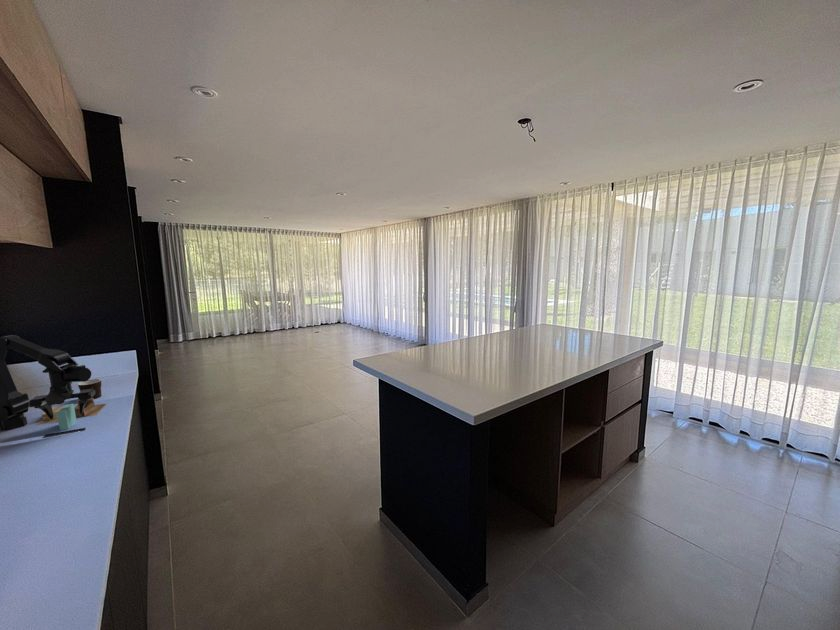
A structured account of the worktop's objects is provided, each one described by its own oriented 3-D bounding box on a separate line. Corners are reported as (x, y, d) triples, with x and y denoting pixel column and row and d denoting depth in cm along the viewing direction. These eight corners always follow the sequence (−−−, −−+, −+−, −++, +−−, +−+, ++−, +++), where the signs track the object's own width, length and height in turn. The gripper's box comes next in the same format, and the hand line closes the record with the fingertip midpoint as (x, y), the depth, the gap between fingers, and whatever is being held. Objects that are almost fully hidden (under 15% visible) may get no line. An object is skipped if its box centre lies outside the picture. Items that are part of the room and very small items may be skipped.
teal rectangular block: (60, 432, 139) (56, 412, 137) (69, 424, 146) (65, 404, 144) (68, 430, 140) (65, 411, 138) (77, 422, 147) (73, 403, 145)
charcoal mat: (43, 438, 135) (42, 436, 135) (56, 426, 145) (55, 425, 145) (83, 430, 141) (82, 429, 141) (92, 419, 150) (92, 418, 150)
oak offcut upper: (42, 417, 146) (41, 414, 146) (49, 411, 152) (49, 408, 152) (57, 415, 149) (57, 411, 148) (64, 408, 155) (64, 405, 154)
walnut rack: (35, 428, 143) (32, 416, 142) (50, 414, 155) (48, 403, 154) (97, 418, 152) (95, 406, 151) (107, 406, 164) (105, 395, 163)
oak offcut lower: (43, 420, 146) (42, 417, 146) (51, 414, 152) (50, 411, 152) (59, 418, 149) (58, 415, 148) (66, 412, 155) (65, 408, 154)
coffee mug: (85, 398, 173) (82, 380, 171) (107, 395, 177) (104, 377, 175) (74, 407, 163) (70, 388, 161) (97, 404, 166) (94, 385, 165)
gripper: (17, 392, 128) (25, 430, 131) (82, 384, 137) (89, 419, 139) (32, 383, 138) (39, 418, 140) (93, 375, 146) (98, 408, 149)
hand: (67, 416), depth 142 cm, fingers open, 9 cm apart
